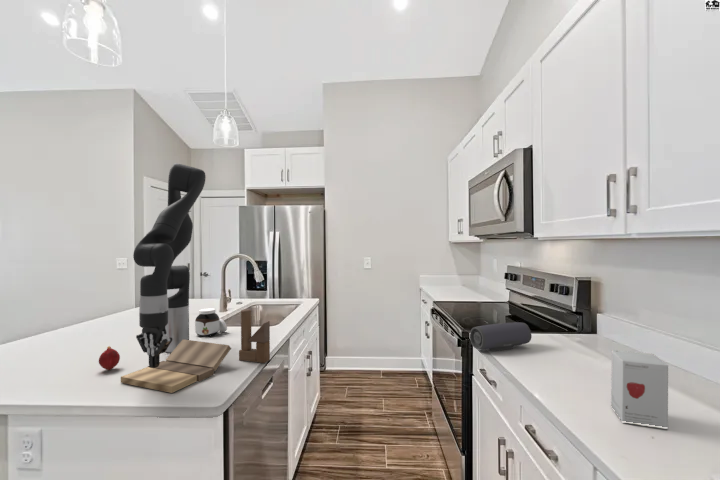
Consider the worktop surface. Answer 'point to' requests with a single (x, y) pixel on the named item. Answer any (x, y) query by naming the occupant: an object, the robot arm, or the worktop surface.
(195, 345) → the oak plank far
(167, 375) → the oak plank near
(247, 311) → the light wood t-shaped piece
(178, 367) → the mating board
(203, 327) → the spread jar
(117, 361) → the onion
